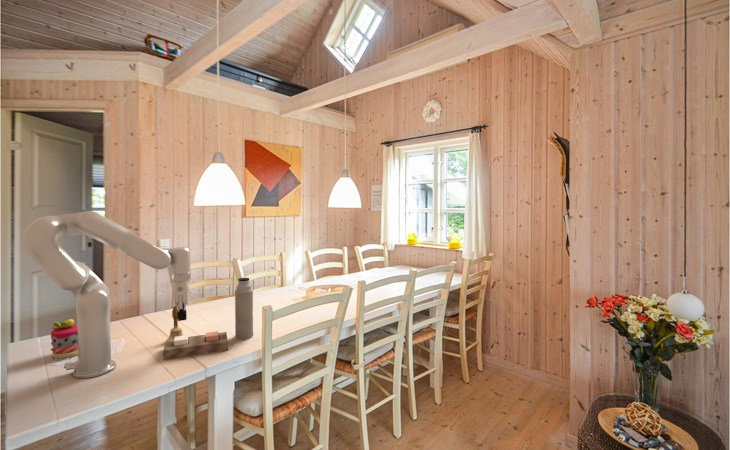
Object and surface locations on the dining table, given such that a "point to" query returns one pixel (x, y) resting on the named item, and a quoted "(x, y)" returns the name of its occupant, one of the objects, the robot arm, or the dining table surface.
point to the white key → (181, 340)
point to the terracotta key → (212, 336)
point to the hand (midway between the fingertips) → (182, 319)
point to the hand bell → (175, 325)
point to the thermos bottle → (243, 310)
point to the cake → (64, 340)
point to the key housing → (195, 346)
